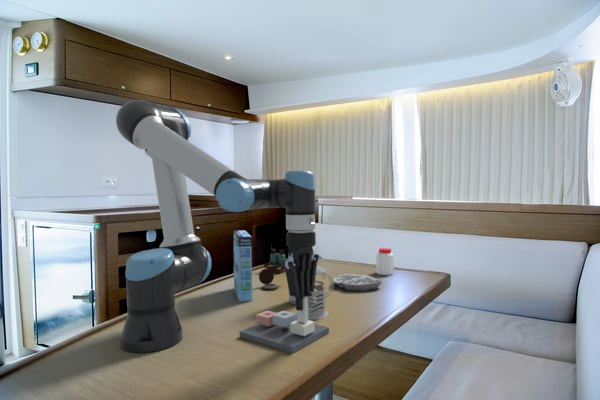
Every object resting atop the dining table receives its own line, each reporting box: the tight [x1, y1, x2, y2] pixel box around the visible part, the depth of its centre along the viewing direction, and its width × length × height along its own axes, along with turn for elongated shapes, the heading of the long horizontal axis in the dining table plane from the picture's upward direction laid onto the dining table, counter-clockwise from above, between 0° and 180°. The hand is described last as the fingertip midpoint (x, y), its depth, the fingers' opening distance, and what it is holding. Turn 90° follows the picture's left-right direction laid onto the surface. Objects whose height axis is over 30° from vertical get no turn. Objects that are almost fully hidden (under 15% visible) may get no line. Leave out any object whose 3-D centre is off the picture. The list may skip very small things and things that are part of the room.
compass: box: [258, 268, 282, 292], centre depth 154 cm, size 8×8×7 cm
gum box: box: [232, 230, 253, 303], centre depth 145 cm, size 20×5×23 cm, turn 14°
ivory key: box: [290, 319, 315, 336], centre depth 102 cm, size 4×4×4 cm
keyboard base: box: [239, 318, 330, 354], centre depth 105 cm, size 16×18×2 cm
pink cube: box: [255, 310, 277, 327], centre depth 109 cm, size 4×4×4 cm
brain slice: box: [332, 273, 382, 292], centre depth 155 cm, size 20×17×3 cm
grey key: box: [273, 310, 297, 330], centre depth 105 cm, size 4×4×4 cm
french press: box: [308, 265, 334, 321], centre depth 122 cm, size 10×12×25 cm
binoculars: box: [263, 248, 287, 274], centre depth 182 cm, size 9×11×10 cm
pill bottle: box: [375, 247, 395, 276], centre depth 177 cm, size 8×8×11 cm
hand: (302, 321), depth 102 cm, fingers closed
